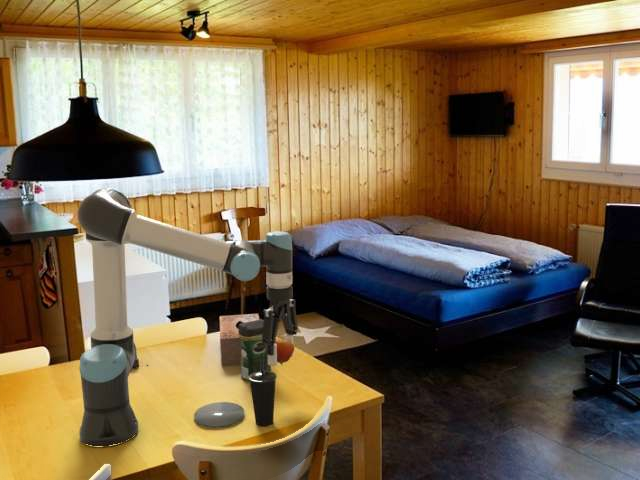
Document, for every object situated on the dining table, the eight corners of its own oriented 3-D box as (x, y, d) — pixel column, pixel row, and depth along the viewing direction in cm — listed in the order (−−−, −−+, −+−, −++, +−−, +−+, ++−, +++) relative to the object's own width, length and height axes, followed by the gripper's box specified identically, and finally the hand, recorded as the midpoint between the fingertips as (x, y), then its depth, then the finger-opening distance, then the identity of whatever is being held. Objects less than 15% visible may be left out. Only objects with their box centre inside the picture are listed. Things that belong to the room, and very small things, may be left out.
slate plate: (223, 432, 180) (223, 428, 180) (183, 421, 187) (183, 417, 187) (254, 411, 192) (253, 407, 192) (215, 402, 199) (215, 398, 199)
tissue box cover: (264, 363, 229) (263, 335, 227) (221, 366, 227) (220, 338, 225) (259, 338, 254) (258, 313, 252) (220, 341, 252) (219, 316, 250)
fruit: (260, 362, 193) (264, 335, 195) (268, 367, 200) (273, 340, 202) (286, 365, 190) (290, 337, 193) (294, 370, 198) (298, 343, 200)
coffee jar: (262, 368, 224) (260, 315, 220) (274, 376, 217) (272, 321, 214) (236, 375, 219) (234, 321, 215) (248, 383, 212) (245, 327, 209)
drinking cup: (264, 414, 190) (261, 347, 186) (284, 421, 185) (281, 353, 182) (244, 424, 184) (241, 355, 181) (264, 432, 180) (261, 361, 176)
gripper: (270, 295, 182) (271, 374, 187) (309, 279, 200) (309, 351, 204) (247, 292, 186) (249, 369, 190) (288, 276, 204) (289, 347, 208)
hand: (280, 360), depth 197 cm, fingers closed on fruit, 8 cm apart
